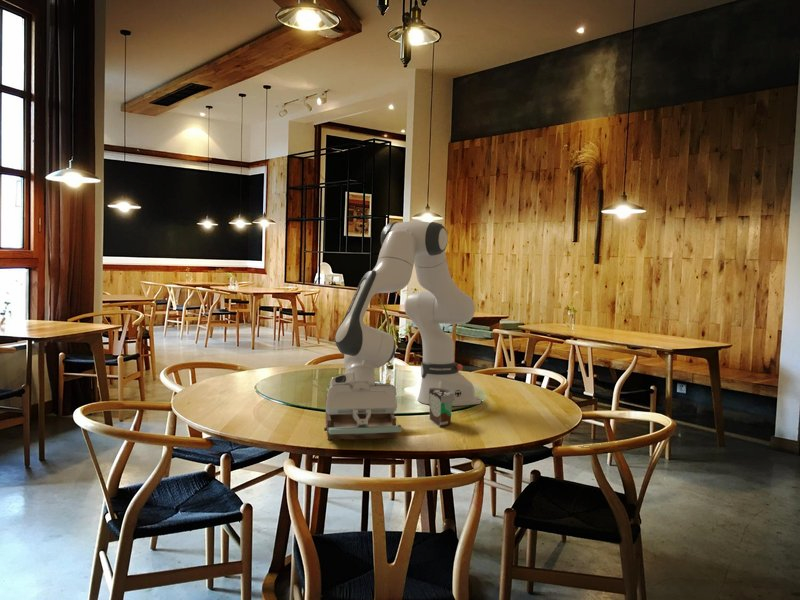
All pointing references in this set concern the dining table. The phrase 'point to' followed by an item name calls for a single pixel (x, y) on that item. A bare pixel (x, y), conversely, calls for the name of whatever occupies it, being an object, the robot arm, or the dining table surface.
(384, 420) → the brown open box
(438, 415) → the food container
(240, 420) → the dining table surface
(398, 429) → the panel
